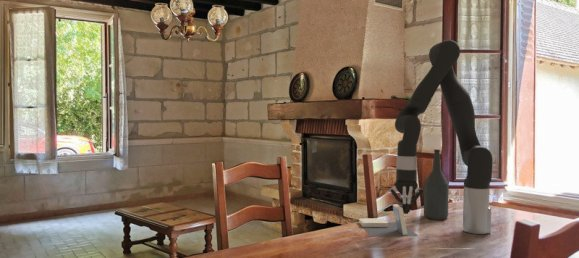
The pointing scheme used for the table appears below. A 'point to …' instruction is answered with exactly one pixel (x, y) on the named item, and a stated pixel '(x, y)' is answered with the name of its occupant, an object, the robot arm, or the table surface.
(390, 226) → the mat
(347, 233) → the table surface
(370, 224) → the tile
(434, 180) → the bottle
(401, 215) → the tile
